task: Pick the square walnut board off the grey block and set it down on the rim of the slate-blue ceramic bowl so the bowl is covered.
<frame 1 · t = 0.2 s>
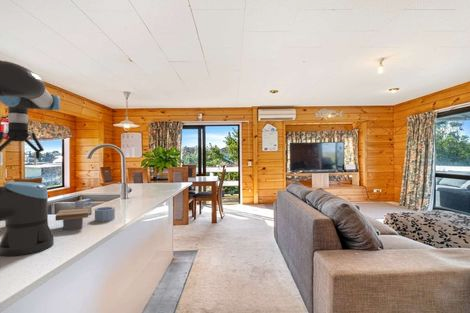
hand: (18, 165, 128), 28 cm above the counter, fingers open, 13 cm apart
bowl: (104, 219, 132), on the counter
grey block: (73, 227, 118), on the counter
walnut board: (73, 216, 118), point 5 cm above the counter, touching grey block
coffee package: (26, 224, 123), on the counter
medicine box: (83, 216, 140), on the counter
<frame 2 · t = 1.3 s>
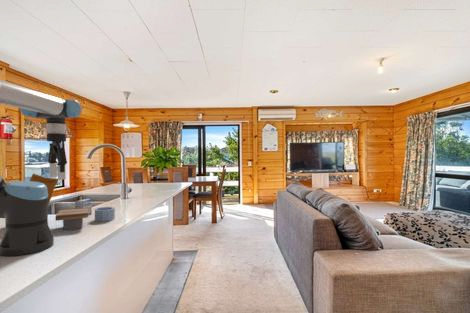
hand: (57, 178, 122), 22 cm above the counter, fingers open, 13 cm apart
coffee package: (27, 220, 123), point 2 cm above the counter, touching gripper
everything else where it was.
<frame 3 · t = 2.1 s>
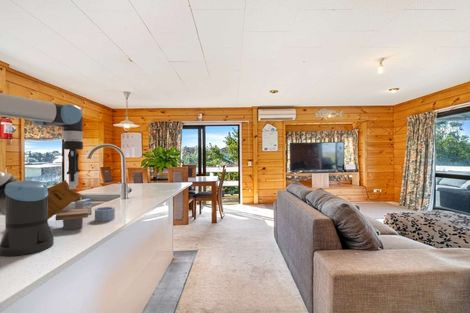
hand: (73, 187, 118), 18 cm above the counter, fingers open, 13 cm apart
coffee package: (34, 212, 124), point 5 cm above the counter, touching gripper
everything else where it was.
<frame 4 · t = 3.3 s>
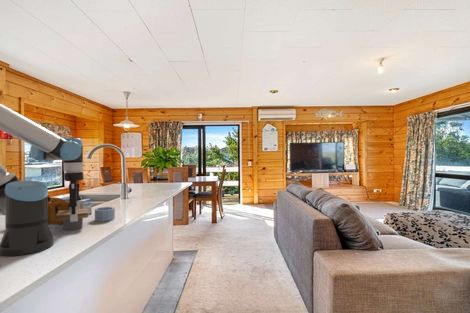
hand: (75, 217, 119), 4 cm above the counter, fingers open, 13 cm apart
coffee package: (27, 209, 125), point 6 cm above the counter, touching gripper
everything else where it was.
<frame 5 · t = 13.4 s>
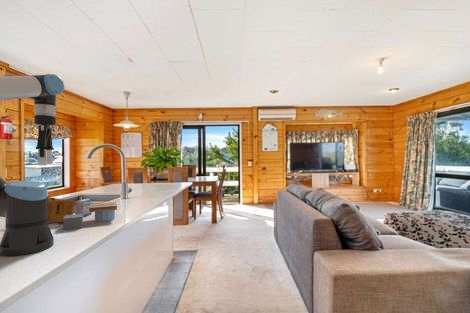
hand: (45, 164, 111), 29 cm above the counter, fingers open, 13 cm apart
walnut board: (103, 208, 132), point 5 cm above the counter, touching bowl
coffee package: (31, 209, 127), point 6 cm above the counter
everything else where it was.
at the end: walnut board 0.7 cm off-centre on the bowl, point 5.5 cm above the bowl's base; walnut board tilted 0°; the gripper is holding nothing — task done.
